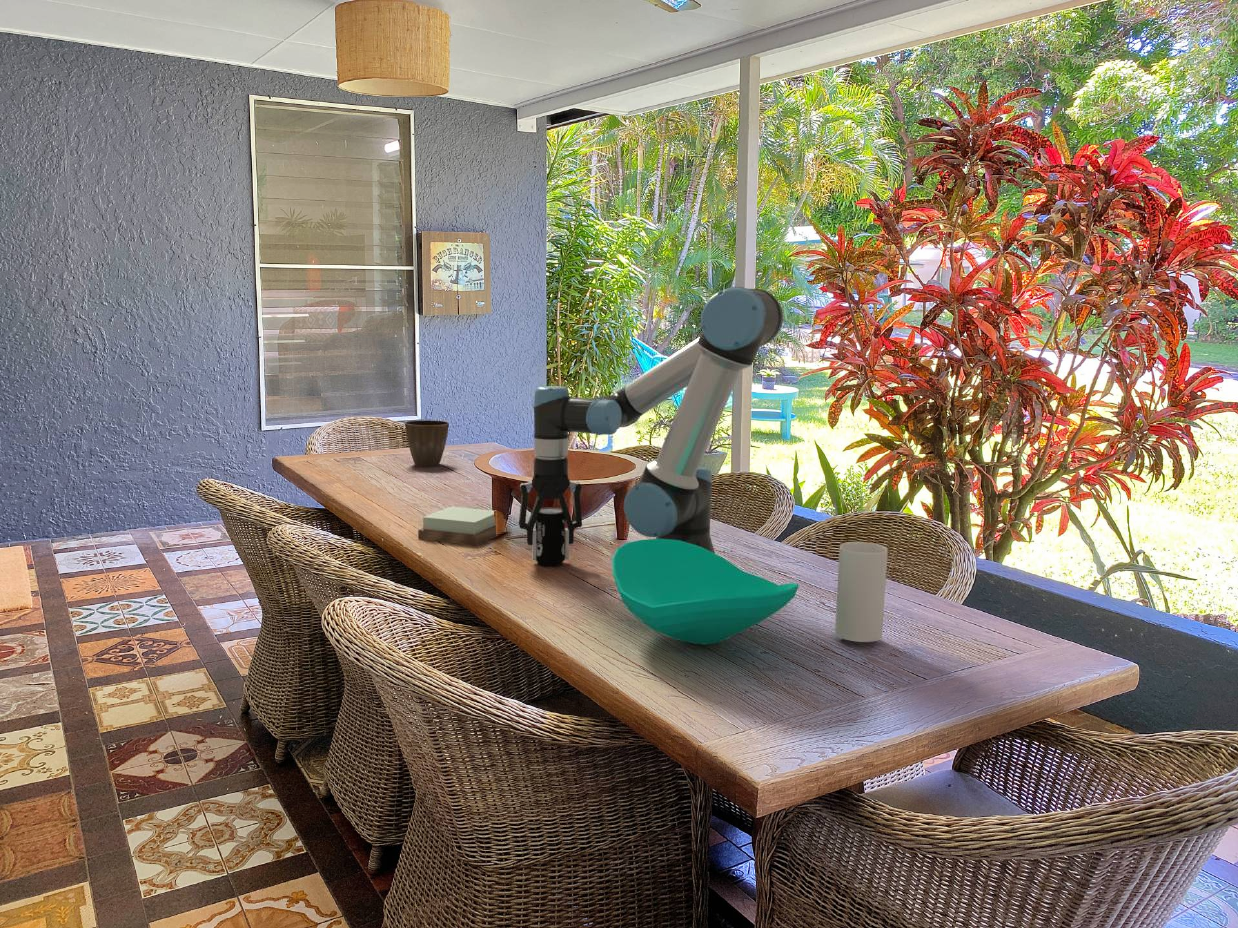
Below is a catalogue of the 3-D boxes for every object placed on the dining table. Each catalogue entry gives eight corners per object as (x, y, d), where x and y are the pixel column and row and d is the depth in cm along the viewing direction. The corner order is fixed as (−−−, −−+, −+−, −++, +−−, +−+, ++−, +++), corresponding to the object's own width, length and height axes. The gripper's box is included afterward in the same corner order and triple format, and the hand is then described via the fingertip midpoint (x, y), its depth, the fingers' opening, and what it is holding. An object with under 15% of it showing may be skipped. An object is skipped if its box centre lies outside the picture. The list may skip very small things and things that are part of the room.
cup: (847, 623, 181) (852, 539, 178) (889, 633, 175) (895, 547, 173) (826, 634, 174) (831, 547, 172) (869, 645, 169) (875, 555, 167)
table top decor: (576, 616, 182) (577, 547, 179) (698, 596, 196) (700, 532, 194) (700, 690, 148) (703, 605, 146) (837, 659, 162) (841, 582, 160)
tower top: (500, 522, 247) (500, 511, 247) (475, 534, 234) (475, 522, 234) (450, 517, 252) (450, 506, 251) (423, 529, 239) (423, 517, 238)
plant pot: (436, 463, 350) (435, 419, 347) (457, 469, 339) (457, 423, 336) (397, 467, 341) (397, 421, 338) (418, 473, 329) (417, 426, 327)
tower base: (506, 534, 248) (506, 522, 248) (477, 548, 233) (477, 536, 233) (450, 528, 253) (450, 517, 253) (418, 542, 238) (418, 530, 238)
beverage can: (560, 567, 215) (560, 514, 214) (531, 565, 217) (532, 512, 215) (568, 559, 222) (568, 508, 220) (540, 557, 223) (540, 506, 221)
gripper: (592, 453, 221) (590, 552, 225) (505, 454, 217) (505, 555, 221) (597, 459, 214) (595, 561, 217) (507, 459, 210) (507, 564, 214)
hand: (550, 558), depth 219 cm, fingers closed on beverage can, 6 cm apart
